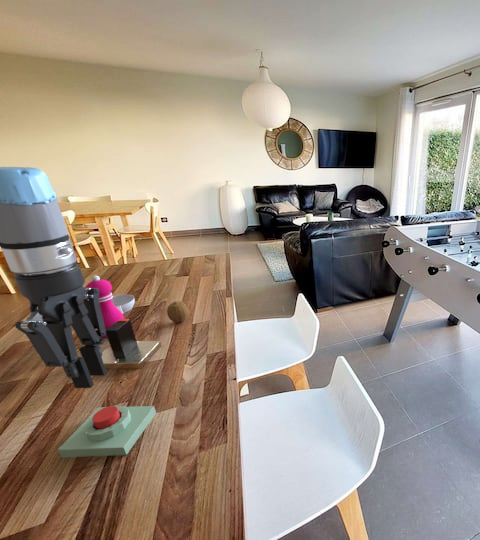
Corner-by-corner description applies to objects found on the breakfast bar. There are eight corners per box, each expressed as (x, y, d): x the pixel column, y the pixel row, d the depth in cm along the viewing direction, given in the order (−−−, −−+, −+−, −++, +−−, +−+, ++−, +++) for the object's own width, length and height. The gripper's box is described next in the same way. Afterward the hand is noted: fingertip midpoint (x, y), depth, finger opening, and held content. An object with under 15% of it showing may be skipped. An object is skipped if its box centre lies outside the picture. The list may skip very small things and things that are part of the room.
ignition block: (61, 457, 56) (54, 443, 54) (100, 414, 65) (95, 401, 63) (126, 455, 57) (121, 441, 55) (156, 412, 66) (152, 399, 64)
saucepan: (133, 299, 114) (131, 291, 112) (142, 317, 102) (140, 308, 101) (98, 308, 107) (95, 299, 105) (103, 328, 95) (100, 319, 94)
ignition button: (89, 429, 57) (86, 422, 57) (105, 413, 61) (102, 406, 60) (111, 429, 58) (108, 421, 57) (124, 412, 61) (122, 405, 61)
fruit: (179, 328, 97) (174, 307, 94) (165, 324, 99) (160, 304, 96) (194, 319, 103) (190, 299, 100) (181, 315, 104) (176, 296, 101)
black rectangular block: (125, 357, 80) (115, 329, 76) (114, 357, 79) (104, 329, 76) (137, 345, 85) (129, 318, 81) (128, 345, 84) (119, 318, 81)
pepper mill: (104, 327, 96) (85, 272, 88) (130, 324, 98) (114, 270, 91) (94, 339, 89) (73, 281, 82) (122, 335, 92) (104, 279, 84)
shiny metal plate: (90, 369, 78) (88, 363, 77) (117, 346, 87) (115, 340, 86) (141, 368, 79) (139, 362, 78) (161, 346, 88) (160, 340, 87)
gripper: (23, 288, 40) (78, 413, 48) (107, 252, 54) (138, 353, 63) (-37, 288, 39) (30, 414, 48) (65, 252, 54) (102, 354, 62)
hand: (91, 380), depth 55 cm, fingers open, 3 cm apart
